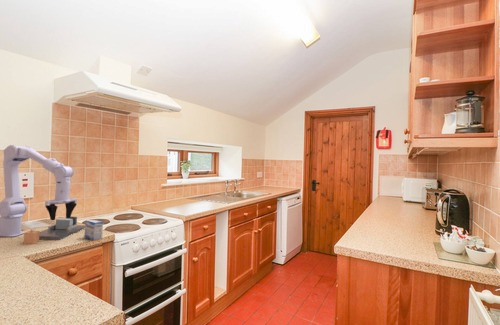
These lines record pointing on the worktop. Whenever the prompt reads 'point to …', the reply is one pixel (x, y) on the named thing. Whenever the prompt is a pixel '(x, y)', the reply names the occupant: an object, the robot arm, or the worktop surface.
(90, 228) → the medicine box
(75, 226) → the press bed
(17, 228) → the robot arm
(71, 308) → the worktop surface
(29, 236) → the housing block
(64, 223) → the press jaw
